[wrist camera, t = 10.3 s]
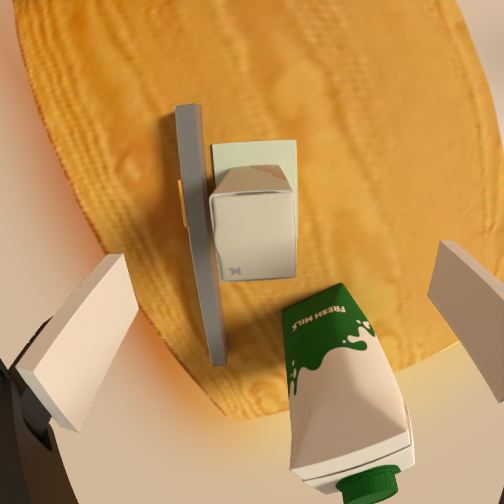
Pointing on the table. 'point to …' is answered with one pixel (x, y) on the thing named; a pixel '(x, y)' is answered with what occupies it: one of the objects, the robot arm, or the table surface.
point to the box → (254, 225)
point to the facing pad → (258, 160)
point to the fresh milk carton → (343, 401)
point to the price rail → (200, 226)
